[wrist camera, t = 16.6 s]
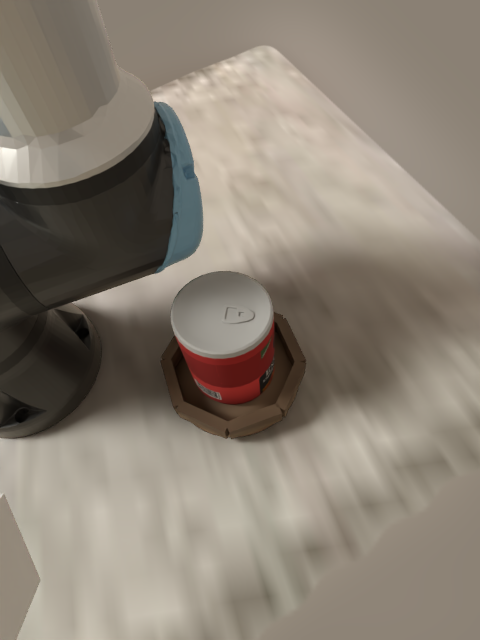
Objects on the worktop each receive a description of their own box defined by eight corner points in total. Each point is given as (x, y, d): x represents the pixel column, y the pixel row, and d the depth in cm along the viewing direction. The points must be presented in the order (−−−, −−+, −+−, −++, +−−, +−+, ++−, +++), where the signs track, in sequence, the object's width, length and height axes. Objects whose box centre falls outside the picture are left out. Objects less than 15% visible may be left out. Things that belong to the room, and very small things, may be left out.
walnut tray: (147, 404, 42) (138, 392, 40) (208, 302, 48) (204, 287, 45) (267, 460, 39) (266, 452, 36) (318, 343, 44) (320, 329, 42)
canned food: (281, 401, 40) (282, 346, 31) (196, 413, 40) (171, 362, 31) (268, 330, 44) (265, 262, 35) (190, 341, 44) (167, 277, 35)
